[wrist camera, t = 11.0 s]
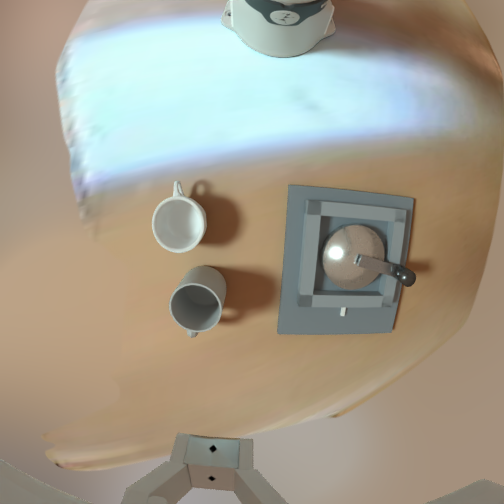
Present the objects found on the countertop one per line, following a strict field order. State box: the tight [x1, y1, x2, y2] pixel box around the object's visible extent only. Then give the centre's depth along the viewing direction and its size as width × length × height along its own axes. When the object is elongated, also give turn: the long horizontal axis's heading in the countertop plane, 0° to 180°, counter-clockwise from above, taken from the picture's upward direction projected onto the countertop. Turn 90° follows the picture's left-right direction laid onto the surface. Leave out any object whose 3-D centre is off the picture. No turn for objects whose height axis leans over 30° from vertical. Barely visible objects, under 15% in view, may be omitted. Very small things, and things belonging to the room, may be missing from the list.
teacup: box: [152, 181, 207, 253], centre depth 42 cm, size 10×8×5 cm
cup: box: [169, 266, 227, 338], centre depth 43 cm, size 7×10×9 cm
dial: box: [321, 223, 416, 290], centre depth 42 cm, size 14×10×6 cm
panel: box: [277, 185, 414, 335], centre depth 45 cm, size 24×21×3 cm
